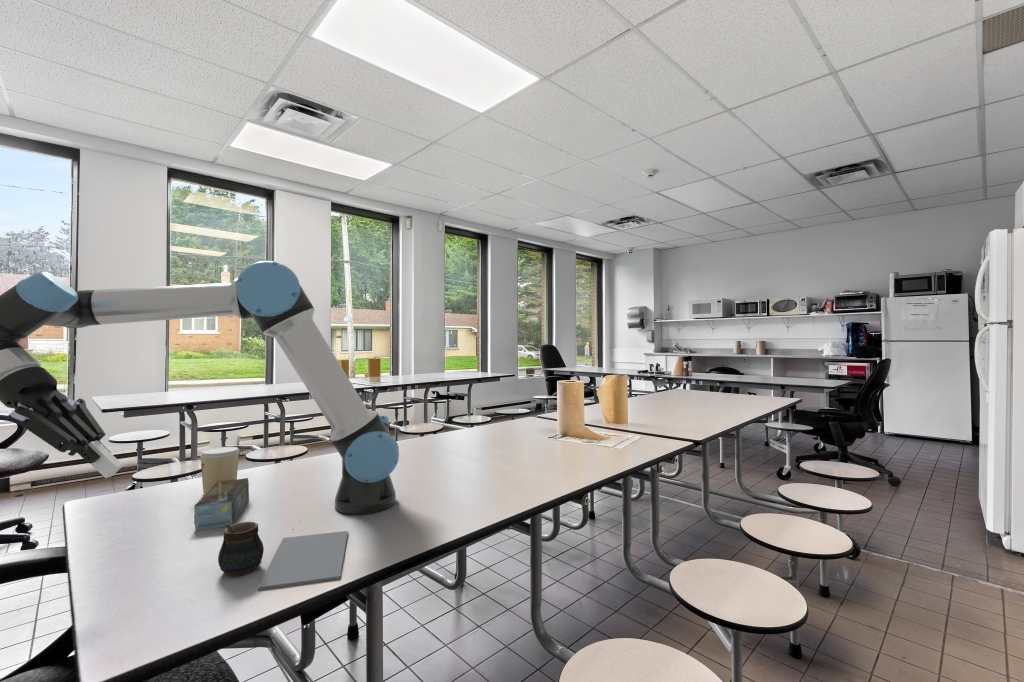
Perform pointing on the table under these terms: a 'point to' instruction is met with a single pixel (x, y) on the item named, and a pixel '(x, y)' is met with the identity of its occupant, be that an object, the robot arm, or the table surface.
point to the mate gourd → (240, 549)
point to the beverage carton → (221, 504)
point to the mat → (306, 560)
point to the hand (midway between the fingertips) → (114, 471)
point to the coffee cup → (218, 465)
